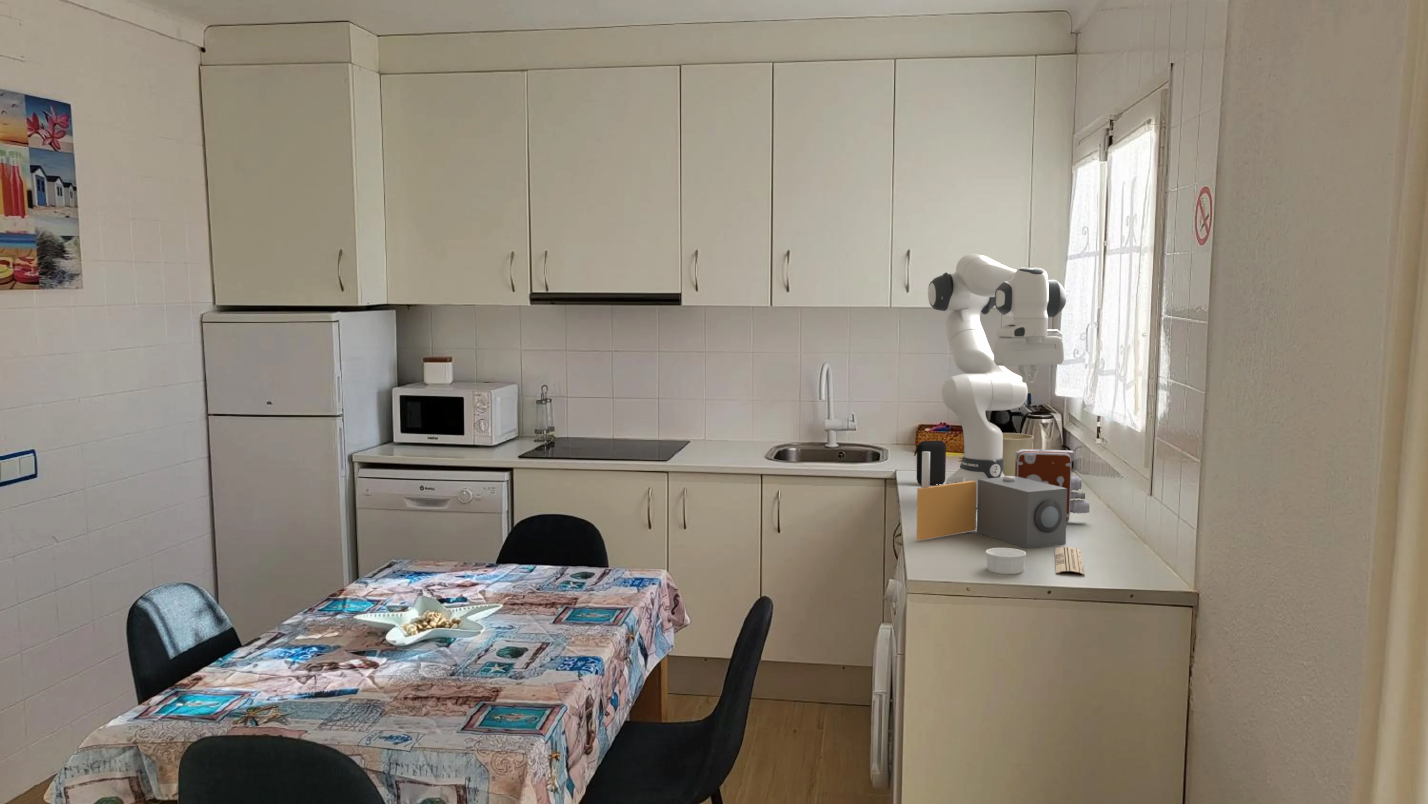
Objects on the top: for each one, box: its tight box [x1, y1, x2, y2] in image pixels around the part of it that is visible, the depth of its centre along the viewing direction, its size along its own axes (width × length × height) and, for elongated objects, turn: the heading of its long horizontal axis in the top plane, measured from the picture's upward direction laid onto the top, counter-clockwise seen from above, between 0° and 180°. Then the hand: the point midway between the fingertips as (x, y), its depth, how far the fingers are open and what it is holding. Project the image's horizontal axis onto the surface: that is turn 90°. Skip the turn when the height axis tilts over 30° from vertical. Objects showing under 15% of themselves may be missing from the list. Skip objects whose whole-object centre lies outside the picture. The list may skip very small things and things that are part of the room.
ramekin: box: [985, 547, 1027, 575], centre depth 242 cm, size 9×9×4 cm
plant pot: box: [1002, 432, 1034, 476], centre depth 352 cm, size 15×15×16 cm
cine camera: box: [1015, 448, 1090, 525], centre depth 292 cm, size 9×19×20 cm, turn 78°
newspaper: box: [1054, 546, 1085, 577], centre depth 249 cm, size 24×7×2 cm, turn 163°
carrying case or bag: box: [913, 440, 947, 486], centre depth 350 cm, size 11×3×15 cm, turn 99°
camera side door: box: [916, 451, 977, 541], centre depth 275 cm, size 21×2×22 cm, turn 124°
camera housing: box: [976, 476, 1067, 549], centre depth 273 cm, size 21×12×15 cm, turn 23°
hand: (1028, 382), depth 281 cm, fingers closed
